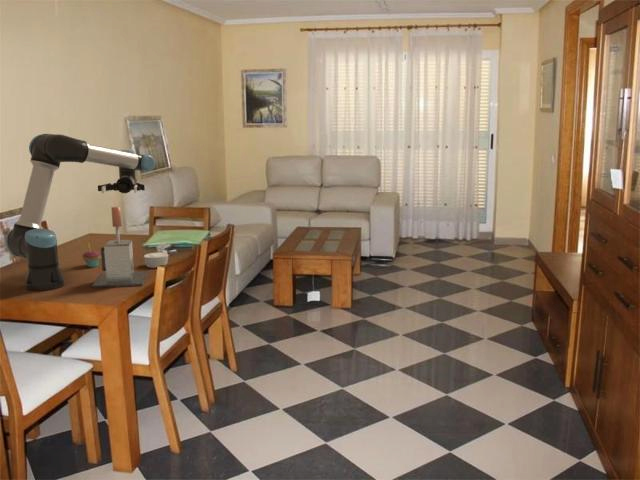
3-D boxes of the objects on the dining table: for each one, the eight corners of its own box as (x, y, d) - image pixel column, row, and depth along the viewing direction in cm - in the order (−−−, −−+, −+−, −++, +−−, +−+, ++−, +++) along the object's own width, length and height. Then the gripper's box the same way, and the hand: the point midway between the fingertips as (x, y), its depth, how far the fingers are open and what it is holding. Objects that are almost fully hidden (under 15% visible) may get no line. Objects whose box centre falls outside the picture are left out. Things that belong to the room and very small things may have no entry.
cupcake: (95, 268, 284) (93, 243, 282) (79, 267, 286) (77, 242, 283) (105, 263, 292) (103, 239, 290) (89, 263, 294) (87, 238, 292)
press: (92, 288, 252) (89, 248, 248) (100, 275, 271) (97, 238, 268) (142, 285, 255) (139, 246, 252) (147, 273, 275) (144, 236, 271)
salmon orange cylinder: (114, 263, 259) (110, 208, 255) (115, 261, 263) (112, 206, 258) (123, 263, 260) (119, 207, 255) (124, 261, 264) (120, 206, 259)
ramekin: (139, 267, 286) (138, 256, 285) (154, 262, 297) (153, 251, 296) (159, 269, 282) (158, 258, 281) (173, 264, 293) (172, 253, 292)
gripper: (152, 191, 290) (148, 197, 270) (98, 193, 286) (89, 199, 265) (152, 176, 289) (147, 180, 268) (96, 177, 284) (88, 182, 264)
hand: (118, 190), depth 267 cm, fingers open, 13 cm apart
